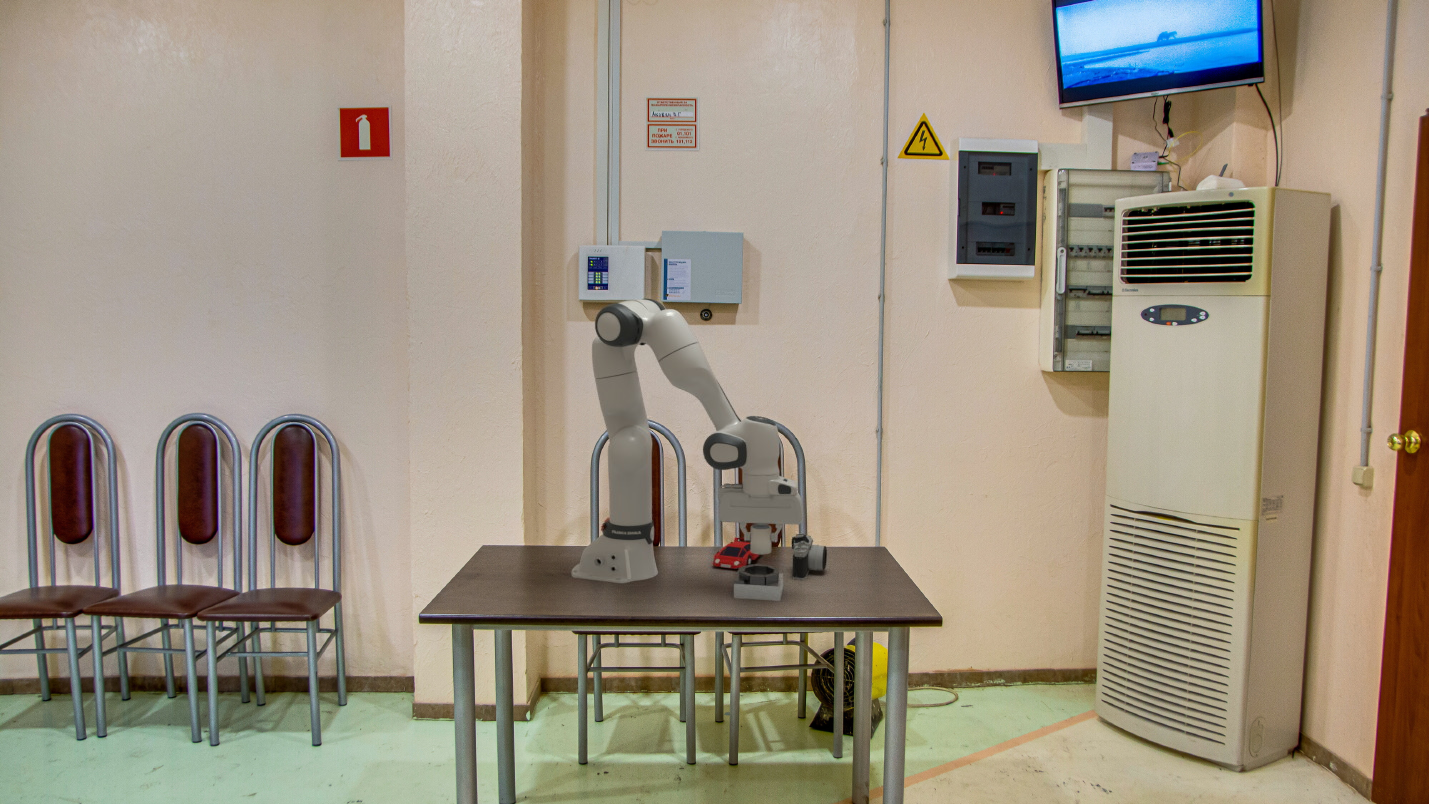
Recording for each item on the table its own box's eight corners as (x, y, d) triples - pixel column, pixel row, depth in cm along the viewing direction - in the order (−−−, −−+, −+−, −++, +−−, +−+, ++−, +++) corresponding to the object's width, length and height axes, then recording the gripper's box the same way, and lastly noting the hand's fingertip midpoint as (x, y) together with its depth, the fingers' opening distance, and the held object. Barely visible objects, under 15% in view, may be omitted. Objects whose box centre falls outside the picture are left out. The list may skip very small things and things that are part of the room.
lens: (749, 553, 187) (749, 527, 186) (751, 547, 192) (751, 522, 191) (770, 554, 186) (770, 528, 185) (772, 548, 191) (772, 523, 190)
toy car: (709, 569, 210) (709, 551, 210) (730, 549, 229) (730, 532, 229) (747, 573, 207) (747, 555, 206) (765, 552, 226) (765, 535, 225)
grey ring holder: (733, 600, 186) (734, 575, 185) (739, 586, 196) (739, 562, 195) (780, 603, 184) (780, 578, 184) (783, 589, 194) (783, 565, 194)
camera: (821, 583, 199) (822, 544, 198) (786, 579, 202) (786, 541, 201) (828, 565, 214) (829, 529, 213) (795, 562, 217) (796, 526, 216)
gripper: (715, 485, 186) (716, 542, 187) (802, 488, 183) (802, 546, 184) (719, 480, 192) (720, 535, 193) (803, 482, 189) (803, 538, 190)
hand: (760, 540), depth 189 cm, fingers closed on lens, 5 cm apart
